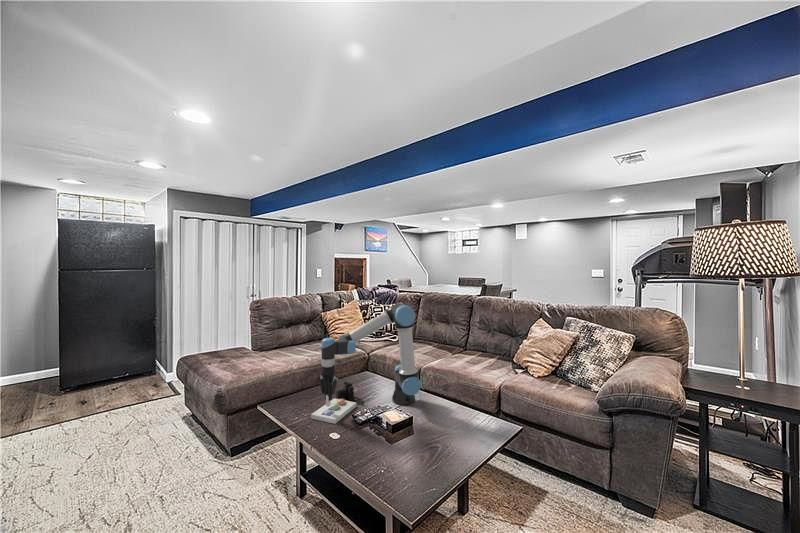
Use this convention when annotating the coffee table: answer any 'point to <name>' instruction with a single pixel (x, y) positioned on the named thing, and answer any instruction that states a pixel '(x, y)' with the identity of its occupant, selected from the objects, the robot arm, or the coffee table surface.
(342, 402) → the button terracotta
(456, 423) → the coffee table surface
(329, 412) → the button slate
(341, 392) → the camera
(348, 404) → the panel
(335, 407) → the button sage
